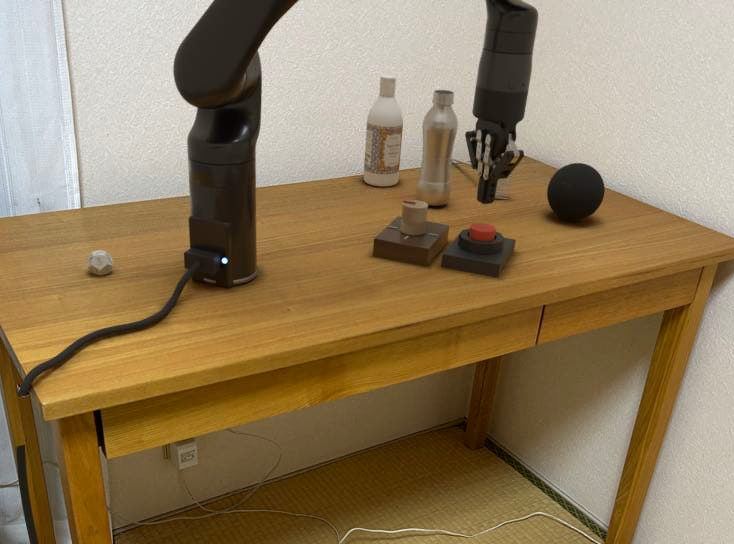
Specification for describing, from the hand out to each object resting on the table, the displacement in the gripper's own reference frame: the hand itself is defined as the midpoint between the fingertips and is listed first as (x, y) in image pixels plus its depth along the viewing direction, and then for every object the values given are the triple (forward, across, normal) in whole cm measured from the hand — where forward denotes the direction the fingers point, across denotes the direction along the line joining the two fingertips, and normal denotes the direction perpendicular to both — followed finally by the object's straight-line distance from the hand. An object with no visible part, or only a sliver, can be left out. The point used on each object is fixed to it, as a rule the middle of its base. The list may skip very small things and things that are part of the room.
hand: (484, 202), depth 126 cm
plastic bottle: (+10, +26, -6) cm, 28 cm away
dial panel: (+9, +7, +8) cm, 14 cm away
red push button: (+6, 0, 0) cm, 6 cm away
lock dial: (+6, +7, +8) cm, 12 cm away
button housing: (+9, 0, 0) cm, 9 cm away
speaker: (+9, +12, -27) cm, 31 cm away
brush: (+10, +38, -23) cm, 45 cm away
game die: (+10, +12, +57) cm, 59 cm away
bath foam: (+10, +41, -3) cm, 42 cm away
